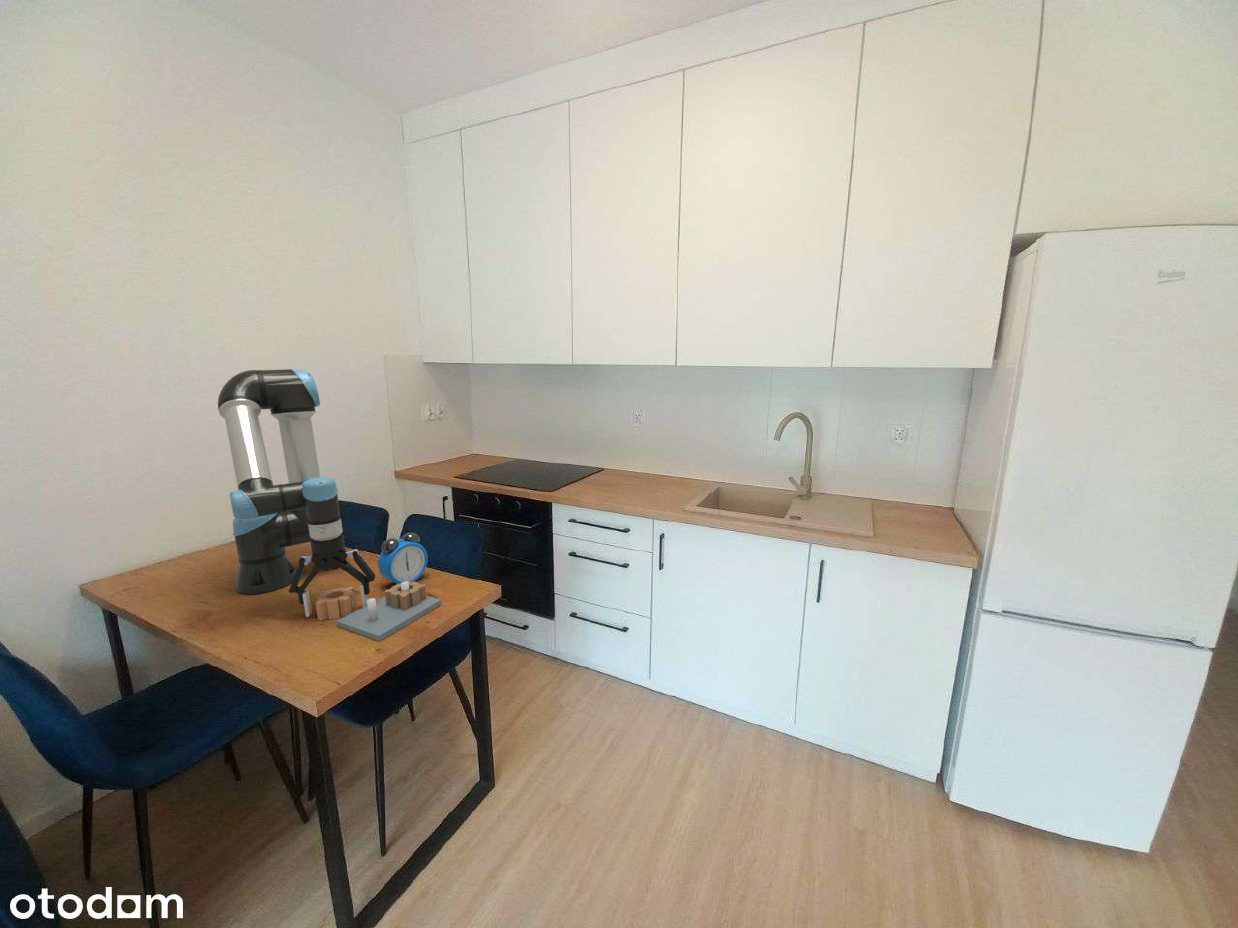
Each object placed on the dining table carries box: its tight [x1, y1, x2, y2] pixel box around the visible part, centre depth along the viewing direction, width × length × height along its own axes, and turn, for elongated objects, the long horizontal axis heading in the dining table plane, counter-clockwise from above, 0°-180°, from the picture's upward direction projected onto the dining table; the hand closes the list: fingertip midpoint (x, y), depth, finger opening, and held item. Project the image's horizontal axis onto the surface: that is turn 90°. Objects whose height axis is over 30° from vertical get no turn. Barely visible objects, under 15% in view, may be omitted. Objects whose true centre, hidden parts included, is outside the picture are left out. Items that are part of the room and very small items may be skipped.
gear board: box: [335, 580, 442, 642], centre depth 131 cm, size 16×20×7 cm
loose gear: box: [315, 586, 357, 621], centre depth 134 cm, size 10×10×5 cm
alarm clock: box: [377, 531, 429, 585], centre depth 150 cm, size 13×6×15 cm, turn 144°
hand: (337, 609), depth 134 cm, fingers open, 13 cm apart
